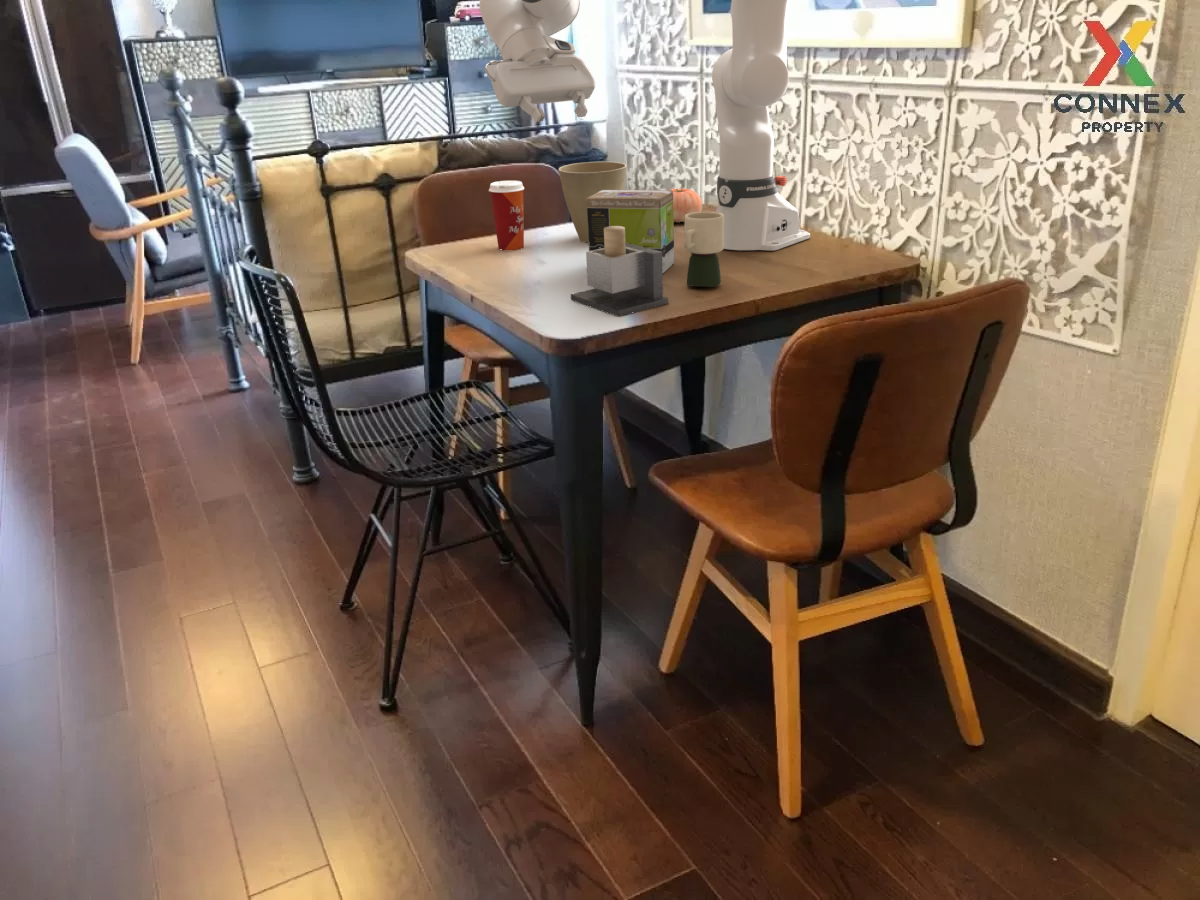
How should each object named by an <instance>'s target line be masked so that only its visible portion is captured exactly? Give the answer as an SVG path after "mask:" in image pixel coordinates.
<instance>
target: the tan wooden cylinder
mask: <svg viewBox="0 0 1200 900" xmlns="http://www.w3.org/2000/svg"><path fill="white" fill-rule="evenodd" d="M604 246H605V255H606V256H609V257H615V256H620V255H625V254H626V249H625V227H622V226H609V227H605V228H604Z"/></svg>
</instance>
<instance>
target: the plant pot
mask: <svg viewBox="0 0 1200 900" xmlns="http://www.w3.org/2000/svg"><path fill="white" fill-rule="evenodd" d="M558 172H559V173H558V175H559V177H560V183H561V188H562V192H563V197H564V200H565V203H566V206H567V209H568V213H569V216H570V218H571V221H572V224H573V226H574V229H575V231H576V234H577V236H578V238H579V241H580V242H583V243H588V244H589V241H588V221H587V200H586V198H588V197H590V196H592V195H594V194H596V193H598V192H600V191H602V190H625V184H626V176H627V175H626V174H627V164H625V163H623V162H618V161H589V162H579V163H578V162H576V163H571V164H567V165H566V164H565V165H563V166H560V167H559V168H558Z"/></svg>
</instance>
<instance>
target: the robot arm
mask: <svg viewBox="0 0 1200 900" xmlns="http://www.w3.org/2000/svg"><path fill="white" fill-rule="evenodd" d="M730 3H731V4H730V17H731V27H732V31H731V33H732V48H730V49H728V50H727V51H724V52H723V53H722V54H721V55H720V56H719V57H718V58H717V59H716V61H715V63H714V65H713V66H712V72H711V81H712V85H713V89H714V98H715V99H714V100H715V109H716V117H717V124H718V132H719V133H718V134H719V168H718V169H719V174H718V176H717V179H716V195H717V199H718V200H717V204H716V209H715V212H718V213H722V214H724V247H723V250H729V251H731V250H732V251H778V250H781V249H784V248H785V247H788V246H792V245H794V244H798V243H800V242H802V241H806V240H808V239H811V233H810V232H809V231H806V230H804V229H800V215H799V214H800V213H799V211H798V209H797V208H796V207H795V206H794V205H793V204H791V203H790V202H789V201H788V200H787V199H786V198H785V197H783V196H782V195H781V194H780V193H779V189H778V186H781V187H785V186H786V185H787V183H788V178H787V177H786V176H784V175H783V176H781V175H777V176H774V174H773V173H774V172H773V171H774V170H773V169H774V168H773V166H774V146H775V145H774V144H775V143H774V141H775V137H774V136H775V135H774V132H773V128H772V125H771V120H770V113H769V106H772V105H774V104H776V103H777V102H778V101H779V100H780V99H782V97H783V96H784V95H785V94H786V91H787V90H788V86H789V82H790V75H789V69H788V66H787V65H788V64H787V26H788V24H787V23H788V22H787V20H788V12H789V11H788V10H789V5H790V0H731V2H730ZM580 4H581V3H580V0H479V12H480V15H481V18H482V21H483V23H484V25H485V28H486V30H487V33H488V34H489V36H490V38H491V40H492V41H493V43H494V44H495V45H496V46H497V47H498V49H499V51H500V55H501V58H502V59H500V60H496V59H495V60H493V59H492V60H490V61H488V62H487V64H485V66H484V71H485V73H486V75H487V77H488V79H490V82H491V86H492V89H493V92H494V94H495V98H496V99H497V101H498V103H499V104H500V105H501V106H503V107H504V108H510V107H511V108H514V107H520V108H521V110H522V111H523V112H526V113H527V114H528V115H530V116H531V117H532V119H533V121H534V122H535V123H539V122H543V121H544V119H545V117H546V114H545V112H544V110H543V108H542V107H539V108H538V107H537V106H536V105H541V104H551V103H560V102H562V103H563V102H569V101H572V102H573V103H574V104H576V106H575V109H574V110H573V111H574V113H575V115H576V117H577V118H583V117H584V118H585V117H586V115H587V114H588V109H587V107H586V105H585V100H588V99H590V97H591V96H592V94H593V93H594V91H595V88H596V84H597V83H596V79H595V77H594V76H593V74H592V72H591V71H590V69H589V67H588V66H587V64H586V63H585V61H584V60H583V59H582V57H580V56H578V55H577V54H576V51H577V49H576V46H575V45H574V44H573V42H570V41H566V40H560V39H557V38H554V37H553V35H554V34H556V33H558V32H560V31H562V30H564V29H566V28H567V27H568V26H570V25H571V24H572V23H573V22H574V20H575V19H576V18H577V16H578V14H579V10H580Z"/></svg>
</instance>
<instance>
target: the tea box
mask: <svg viewBox="0 0 1200 900" xmlns="http://www.w3.org/2000/svg"><path fill="white" fill-rule="evenodd" d="M586 200H587V221H588V241H589V243H588V251H592V250H597V249H601V248H605V246H604V228H605V227H609V226H622V227H625V242H626V243H630V244H634V245H637V246H641V247H645V248H649V249H653V250H657V251H661V252H662V271H663V274H664V273H666V271H668V270H669V269H670V268H671V267H672V266H673V265H672V264H674V263H675V232H674V231H675V227H674V226H675V225H674V223H675V222H674V219H673V190H670V189H654V190H653V189H624V190H602V191H600V192H598V193H596V194H594V195H592V196H590V197H588V198H586Z"/></svg>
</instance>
